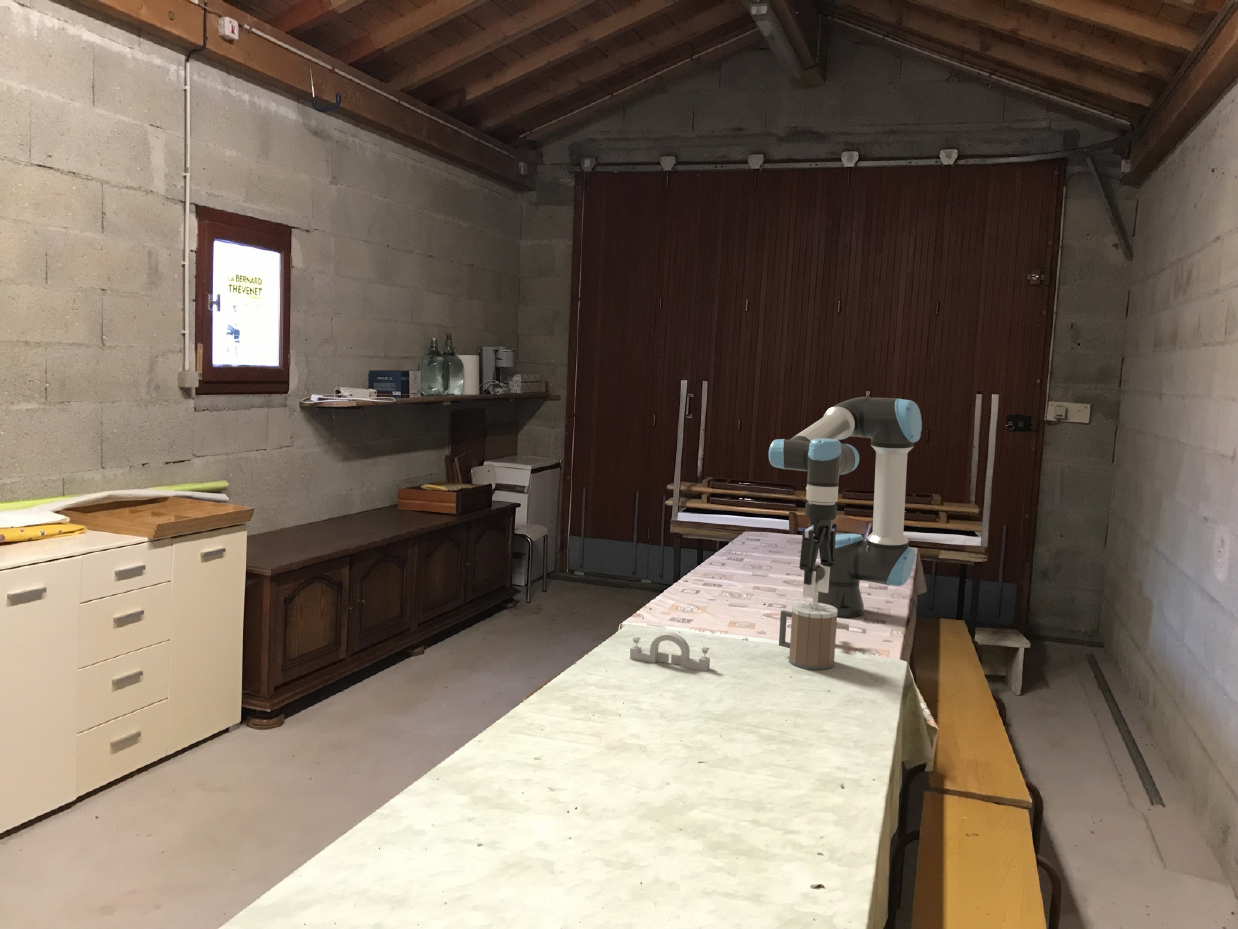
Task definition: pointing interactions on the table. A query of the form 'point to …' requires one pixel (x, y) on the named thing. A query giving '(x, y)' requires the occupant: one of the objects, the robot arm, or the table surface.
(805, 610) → the wooden mug
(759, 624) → the table surface
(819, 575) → the plunger
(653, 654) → the gateway
